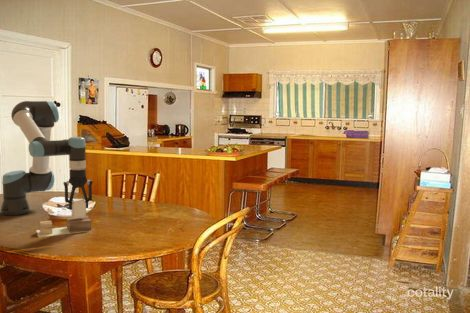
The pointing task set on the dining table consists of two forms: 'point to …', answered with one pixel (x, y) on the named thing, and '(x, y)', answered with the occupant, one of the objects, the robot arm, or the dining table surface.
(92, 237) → the dining table surface
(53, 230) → the build board
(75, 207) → the white block
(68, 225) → the plinth
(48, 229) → the oak cube
